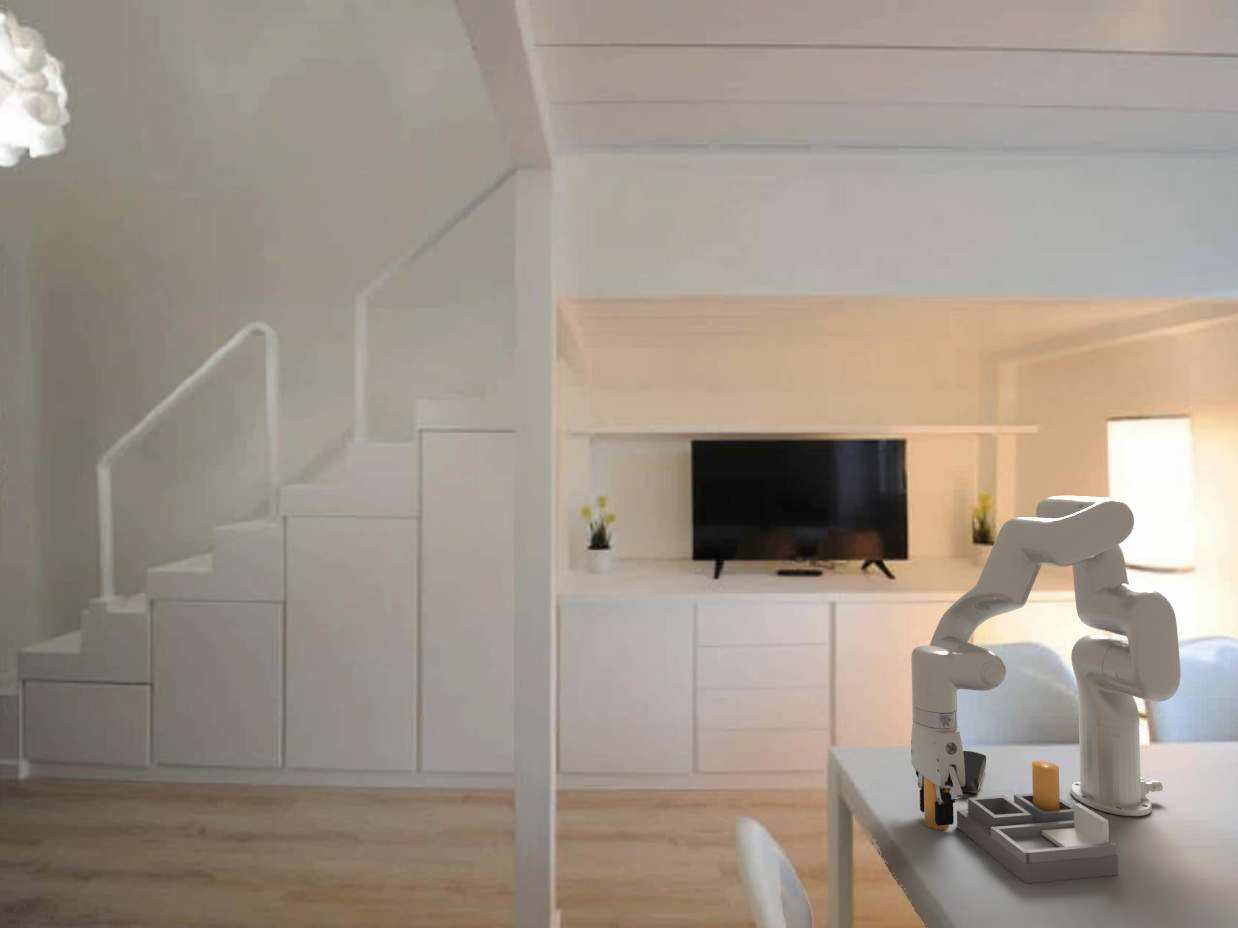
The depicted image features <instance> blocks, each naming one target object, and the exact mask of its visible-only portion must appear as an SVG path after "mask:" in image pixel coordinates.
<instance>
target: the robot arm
mask: <svg viewBox="0 0 1238 928" xmlns="http://www.w3.org/2000/svg"><path fill="white" fill-rule="evenodd" d="M1035 514H1036V517H1029V516H1026V517H1025V516H1023V517H1022V516H1021V517H1019V516H1018V517H1014V518H1011V519H1009V520H1006V522H1004V523H1003V525H1002V526H1001V527H1000V529H999V531H998V533H997V536H996V538H995V540H994V543H993V546H992V547H991V549H990V551H989V552H990V553H989V555H988V557H987V560H986V562H985V563H984V564H985V565H984V567H983V569H982V570H981V573H980V575H979V578H978V580H977V582H976V584H975V585H974V586H973V587H972V588H971V589H970V590H969V591H967V592H966V593H964V594H963V595H962V596H961V597H959V598H958V599H957V600H956V601H955V602H954V603H952V605H950V607H948V609H947V610H946V611H945V612H944V614H942V616H941V618H940V620H939V621H938V624H937V626H936V629H935V631H934V632H933V633H934V634H933V636H932V637H931V641H930V643H929V645H920V646H916V647H915V648H914V649H913V650H912V652H911V656H910V657H911V660H910V661H911V703H912V704H911V708H912V709H911V711H912V713H911V715H912V717H911V718H912V719H911V720H912V722H911V723H912V726H911V737H910V739H911V740H910V758H911V761H910V762H911V765H912V767H913V769H914V770H915V775H916V777H917V786H918V789H919V810H920V812H922V813H924V776H925V777H926V778H927V779H928V780H930V781H931V782H932V783H934V784H935V786H936V794H937V801H938V802H935V823H936V824H937V825H938V826H941V825H949V826H951V825H954V820H955V819H954V818H955V817H954V804H955V803H956V801H957V799H961V798H963V797H964V793H963V791H962V790H961V787H964V785H965V767H964V755H963V751H964V748H963V741H962V737H961V733H960V731H959V729H958V728H959V721H958V719H959V715H958V713H959V712H958V708H959V707H958V690H968V691H979V692H980V691H982V692H983V691H984V692H985V691H991V690H994V689H996V688H998V687H999V686H1000V685H1002V683H1003V682H1004V681H1005V679H1006V674H1007V669H1006V665H1005V663H1004V661H1003V660H1002V659H1001V657H1000V656H999V655H997V654H996V653H995V652H993V651H992V650H989V649H987V648H984V647H982V646H978V645H975V644H972V643H970V642H969V641H970V639H971V637H972V635H973V634H974V632H975V631H976V630H977V628H978V627H979V626H980V625H982V624H983V623H984V622H986V621H987V620H990V619H992V618H993V617H997V616H1000V615H1003V614H1006V613H1010V612H1013V611H1016V610H1019V609H1021V608H1023V607H1024V606H1025V605H1026V603H1027V601H1028V598H1029V596H1030V594H1031V591H1032V589H1033V586H1034V584H1035V582H1036V579H1037V577H1038V575H1039V572H1040V571H1041V567H1042V566H1043V565H1044V566H1049V567H1050V566H1051V567H1059V568H1064V567H1070V566H1071V567H1072V575H1073V576H1072V577H1073V585H1074V586H1073V589H1074V601H1075V607H1076V612H1077V616H1078V619H1079V620H1080V621H1081V622H1082V623H1083V624H1084V625H1086V626H1087V627H1089V628H1092V629H1095V630H1098V631H1103V632H1105V633H1106V632H1107V633H1111V634H1114V635H1119V636H1123V637H1126V640H1124V639H1121V638H1117V637H1114V636H1113V637H1112V636H1110V635H1109V636H1108V635H1104V634H1103V635H1102V634H1090V635H1089V634H1088V635H1085V636H1082V637H1081V638H1078V640H1077V641H1076V642H1075V643H1074V645H1073V647H1072V649H1071V655H1070V657H1071V658H1070V659H1071V665H1072V666H1071V667H1072V671H1073V674H1074V678H1075V681H1076V688H1077V695H1078V696H1077V697H1078V698H1077V699H1078V732H1079V733H1078V737H1079V742H1078V743H1079V744H1078V745H1079V780H1078V781H1075V782H1074V783H1072V784H1071V786H1070V792H1071V796H1073V797H1074V798H1075V799H1076V800H1077V801H1079V803H1082V805H1085V806H1086V807H1090V808H1092V809H1095V810H1097V811H1101V812H1105V813H1106V814H1107V813H1109V814H1112V815H1118V816H1125V817H1141V816H1142V817H1143V816H1146V815H1149V814H1150V813H1151V812H1152V810H1153V809H1152V806H1153V805H1152V802H1151V801H1150V800H1149V798H1148V797H1146V795H1148V794H1149V793H1150V792H1151V793H1152V792H1153V793H1154V792H1162V791H1163V789H1164V788H1163V787H1164V786H1163V784H1162V783H1161V781H1159V780H1158V779H1157V780H1147V781H1145V780H1144V778H1143V777H1142V776H1141V747H1140V746H1141V745H1140V743H1141V741H1140V738H1141V737H1140V736H1141V735H1140V725H1141V724H1140V712H1139V709H1138V705H1137V703H1136V699H1135V698H1134V697H1136V698H1139V699H1142V700H1146V701H1149V702H1154V703H1155V702H1156V703H1160V702H1161V703H1162V702H1166V701H1169V700H1171V699H1172V698H1173V697H1174V696H1175V695H1176V694H1177V692H1178V689H1179V687H1180V683H1181V662H1180V649H1179V648H1180V647H1179V646H1180V645H1179V636H1178V626H1177V625H1178V624H1177V617H1176V613H1175V611H1174V610H1175V609H1174V608H1173V606H1172V604H1171V602H1169V600H1168V599H1167V597H1165V596H1164V595H1163V594H1161V592H1158V591H1156V590H1154V589H1151V588H1147V587H1142V586H1136V585H1131V583H1130V582H1129V580H1128V574H1127V573H1128V572H1127V569H1126V568H1127V567H1126V561H1125V557H1124V553H1123V551H1122V548H1121V547H1120V544H1121V543H1123V542H1124V541H1125V540H1126V539H1128V537H1129V536H1130V535H1131V534H1132V531H1133V529H1134V525H1135V517H1134V513H1133V511H1132V509H1131V508H1130V506H1128V504H1126V503H1125V502H1123V501H1121V500H1119V499H1116V498H1114V497H1113V498H1112V497H1101V496H1100V497H1099V496H1081V495H1077V496H1076V495H1056V496H1055V495H1054V496H1049V497H1046V498H1044V499H1043V500H1041V501H1040V502H1039V503H1038V504H1037V506H1036V510H1035ZM945 782H947V783H945ZM942 789H947V790H948V792H945V793H944V794H943V791H942Z"/></svg>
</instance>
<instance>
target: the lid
mask: <svg viewBox="0 0 1238 928" xmlns="http://www.w3.org/2000/svg"><path fill="white" fill-rule="evenodd" d="M1073 807H1074V828H1064V829H1052V830H1042V835H1043V836H1045V837H1046V838H1047V839H1049V840H1050V841H1052V842H1053V843H1055V844H1056V845H1057V846H1059V847H1069V846H1081V845H1092V844H1103V843H1110V836H1109V835H1110V831H1109V830H1110V827H1109V820H1108V819H1107V818H1105V817H1103V816H1101V815H1100V814H1098V813H1097V812H1094V810H1091V809H1090V808H1088V807H1087V806H1086V805H1085V806H1084V804H1081V802H1079V803H1078V802H1077V803H1073Z"/></svg>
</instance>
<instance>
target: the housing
mask: <svg viewBox="0 0 1238 928" xmlns="http://www.w3.org/2000/svg"><path fill="white" fill-rule="evenodd" d="M1031 768H1032V769H1031V771H1032V772H1031V773H1032V774H1031V778H1032V779H1031V780H1032V782H1031V783H1032V792H1031V793H1019V794H1013V800H1011V798H1008V797H1007V796H1005V795H989V796H976V797H967V808H966V809H957V810H956V827H957V828H958V829H959V830H960V831H962V832H963V834H965V835H966V836H968V838H969V839H972V841H974V842H975V843H976V844H978V846H980V847H981V848H982V849H984V850H985V851H986V853H988V854H989V855H990V856H992V857H993V858H994V859H995V860H997V861H998V862H999V863H1000V864H1002V865H1003V866H1004V867H1005V868H1007V869H1008V870H1009V871H1010V872H1011V873H1013V874H1014V876H1016V877H1018V879H1020V880H1021V881H1022V882H1023V883H1025V884H1033V883H1035V884H1036V883H1045V882H1047V883H1048V882H1055V881H1057V882H1058V881H1063V880H1064V881H1067V880H1068V881H1069V880H1076V879H1077V880H1078V879H1086V878H1087V879H1088V878H1099V877H1100V878H1101V877H1108V876H1119V855H1118V854H1117V845H1116V844H1115V843H1114V842H1109V843H1103V844H1092V845H1081V846H1069V847H1059V846H1057V845H1056V844H1055V843H1053V842H1052V841H1050V840H1049V839H1047V838H1046V837H1045V836H1043V835H1042V830H1052V829H1064V828H1074V805H1071V804H1070V803H1068V802H1067V801H1065V800H1064V799H1061V798H1060V768H1059V766H1058V765H1057V764H1055V763H1053V762H1051V761H1046V760H1033V761H1032V762H1031Z"/></svg>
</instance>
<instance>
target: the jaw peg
mask: <svg viewBox="0 0 1238 928" xmlns="http://www.w3.org/2000/svg"><path fill="white" fill-rule="evenodd" d="M945 783H947V782H945ZM942 791H943V794H944V793H945V792H948V790H947V789H942ZM935 802H938V801H937V794H936V786H935V784H934V783H932V782H931V781H930V780H928V779H927V778H926V777H925V776H924V812H923V814H924V815H923V816H924V817H923V819H924V824H925V826H927V827H929V828H931V829H934V830H939V831H940V830H943V831H944V830H948V829H949V827H950V825H941V826H938V825H937V824H936V823H935Z"/></svg>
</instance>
